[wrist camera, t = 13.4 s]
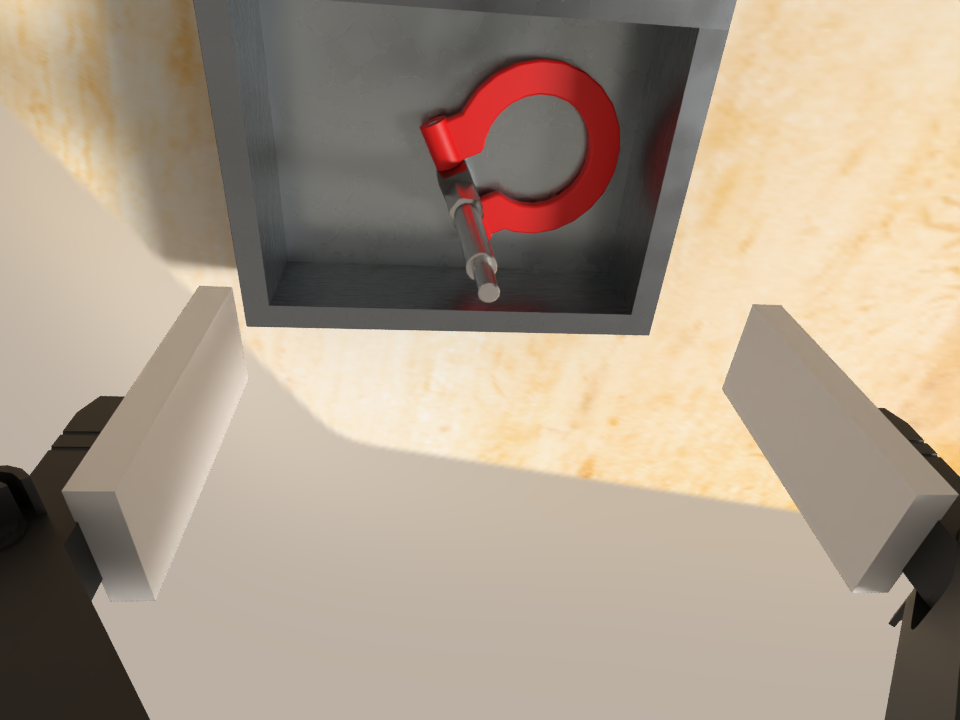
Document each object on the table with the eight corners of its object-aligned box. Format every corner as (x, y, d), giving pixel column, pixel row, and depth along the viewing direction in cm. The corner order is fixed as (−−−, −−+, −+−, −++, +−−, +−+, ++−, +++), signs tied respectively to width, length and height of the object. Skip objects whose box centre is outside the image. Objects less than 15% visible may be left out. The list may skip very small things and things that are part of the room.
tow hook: (591, 27, 29) (409, 105, 30) (709, 72, 18) (419, 191, 19) (629, 191, 33) (470, 254, 34) (741, 303, 23) (506, 390, 24)
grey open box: (271, 272, 35) (246, 326, 30) (229, -51, 27) (185, -50, 22) (619, 282, 37) (648, 335, 32) (684, -15, 29) (738, -5, 24)
